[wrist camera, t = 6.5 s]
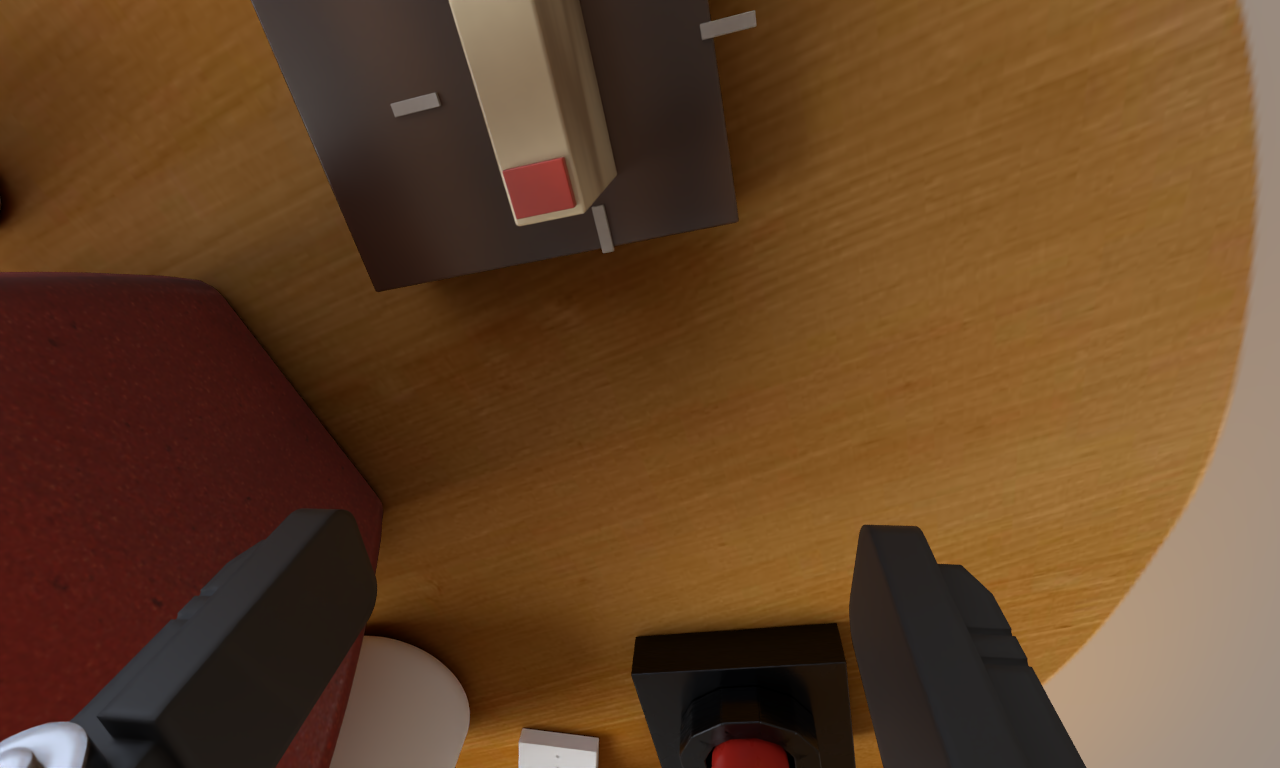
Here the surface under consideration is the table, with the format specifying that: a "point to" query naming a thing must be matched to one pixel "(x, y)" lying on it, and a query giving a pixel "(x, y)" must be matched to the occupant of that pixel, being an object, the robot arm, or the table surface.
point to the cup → (401, 710)
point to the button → (749, 754)
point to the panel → (460, 144)
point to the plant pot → (142, 481)
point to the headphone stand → (557, 750)
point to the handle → (538, 103)
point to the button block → (747, 693)
